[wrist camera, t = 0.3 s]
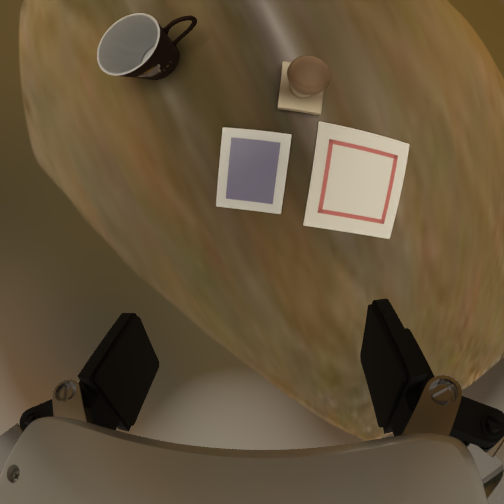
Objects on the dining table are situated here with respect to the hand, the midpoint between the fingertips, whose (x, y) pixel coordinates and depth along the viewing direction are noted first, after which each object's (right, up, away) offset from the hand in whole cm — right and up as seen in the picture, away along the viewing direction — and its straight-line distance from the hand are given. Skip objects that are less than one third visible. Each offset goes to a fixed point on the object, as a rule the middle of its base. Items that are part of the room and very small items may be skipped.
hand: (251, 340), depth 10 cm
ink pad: (0, +15, +26) cm, 30 cm away
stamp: (+6, +25, +21) cm, 33 cm away
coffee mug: (-12, +31, +20) cm, 39 cm away
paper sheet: (+15, +13, +25) cm, 32 cm away
